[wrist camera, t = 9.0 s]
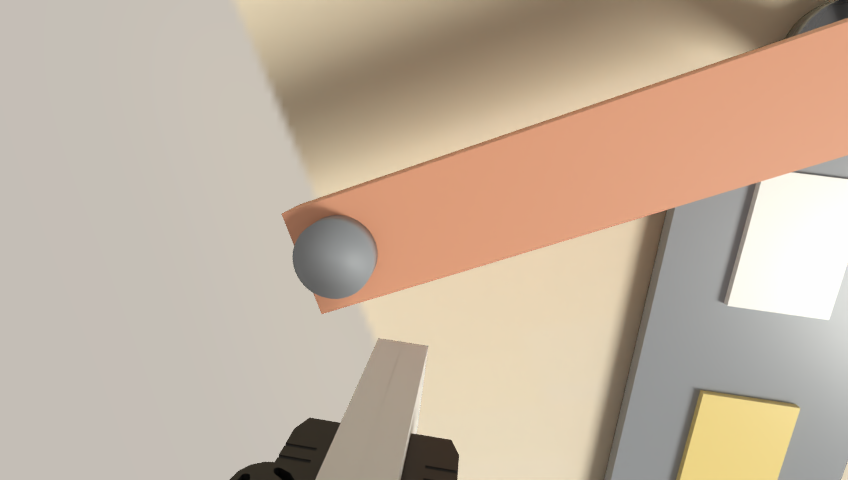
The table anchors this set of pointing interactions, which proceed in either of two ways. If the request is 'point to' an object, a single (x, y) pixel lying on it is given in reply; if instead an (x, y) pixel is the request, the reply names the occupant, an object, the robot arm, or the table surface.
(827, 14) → the pivot pedestal
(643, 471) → the label board
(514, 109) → the table surface
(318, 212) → the swing arm
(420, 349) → the robot arm
